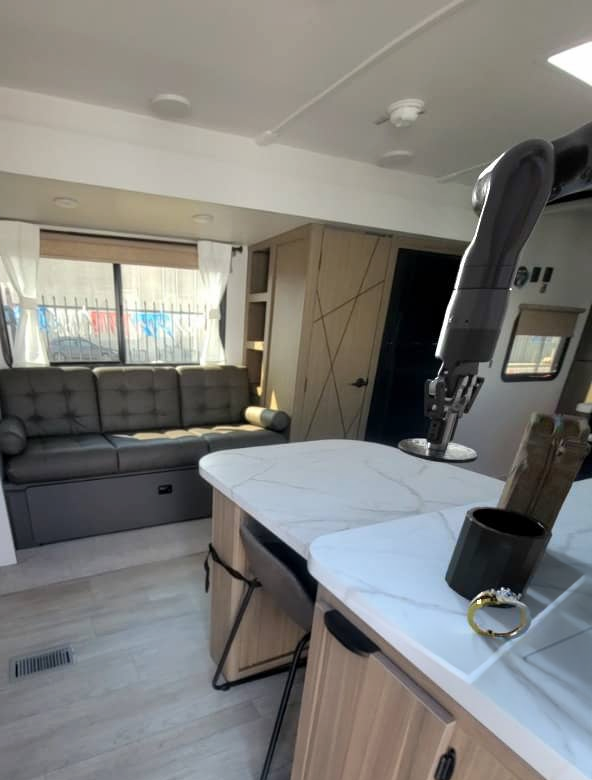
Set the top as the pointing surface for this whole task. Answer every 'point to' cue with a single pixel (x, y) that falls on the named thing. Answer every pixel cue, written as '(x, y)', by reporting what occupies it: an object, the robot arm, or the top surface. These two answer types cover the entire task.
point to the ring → (502, 597)
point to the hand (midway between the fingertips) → (439, 441)
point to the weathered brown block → (546, 465)
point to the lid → (439, 448)
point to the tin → (496, 553)
